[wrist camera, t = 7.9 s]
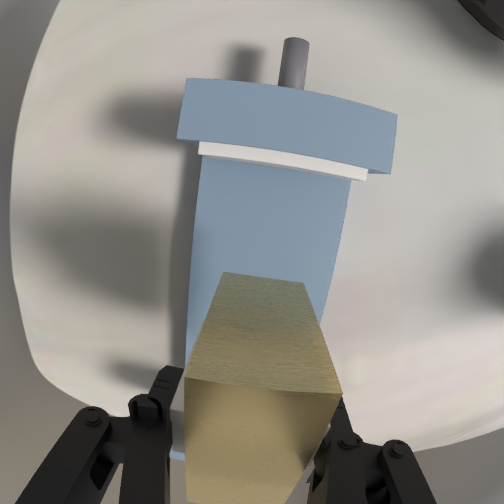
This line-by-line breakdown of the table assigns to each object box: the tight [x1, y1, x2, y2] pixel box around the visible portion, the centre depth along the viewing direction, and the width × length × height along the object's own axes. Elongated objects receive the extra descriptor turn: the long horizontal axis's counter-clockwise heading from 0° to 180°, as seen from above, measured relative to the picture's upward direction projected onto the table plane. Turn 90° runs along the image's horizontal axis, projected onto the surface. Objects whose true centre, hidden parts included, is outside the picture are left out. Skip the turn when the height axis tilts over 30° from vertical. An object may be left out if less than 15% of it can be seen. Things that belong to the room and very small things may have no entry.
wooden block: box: [184, 272, 343, 504], centre depth 11 cm, size 8×4×8 cm, turn 172°
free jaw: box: [176, 37, 398, 181], centre depth 14 cm, size 9×10×6 cm
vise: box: [170, 156, 351, 461], centre depth 19 cm, size 26×10×8 cm, turn 172°
